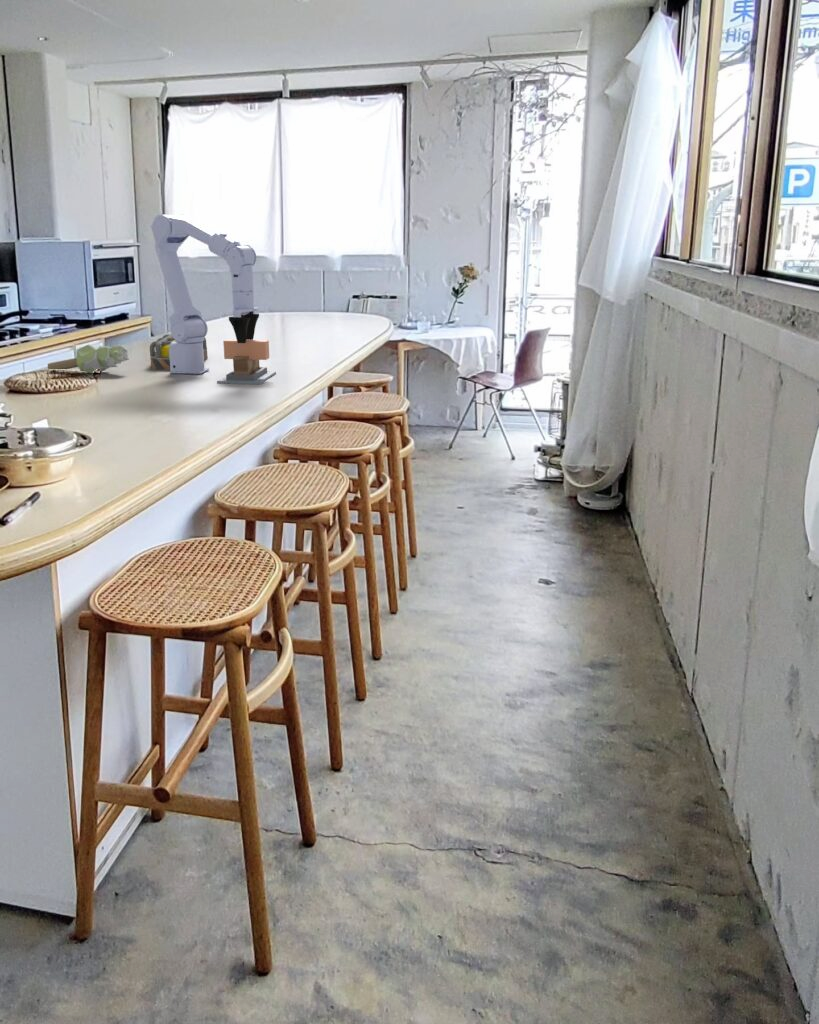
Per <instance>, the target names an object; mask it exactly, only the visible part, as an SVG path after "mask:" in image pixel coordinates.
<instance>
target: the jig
mask: <svg viewBox="0 0 819 1024" xmlns="http://www.w3.org/2000/svg"><path fill="white" fill-rule="evenodd" d="M259 367H260V369H259V370H258V371H256V372H254V373H253V374H251V375H237V374H234V370H232V371H230V372H229V373H227V374H226V375H224V376H223V377H221V378H220V379H218V380H216V383H217V384H232V385H233V384H234V385H236V384H239V385H240V384H241V385H261V384H263V383H264V382H266V381H267V380H269V379H270V378H272V377H273V376H274V374H275V375H276V374H277V372H276V371H269V370H268V367H267V366H259ZM271 376H272V377H271ZM268 378H269V379H268ZM265 380H266V381H265Z"/></svg>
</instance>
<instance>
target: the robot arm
mask: <svg viewBox="0 0 819 1024" xmlns="http://www.w3.org/2000/svg"><path fill="white" fill-rule="evenodd" d="M150 228H151V232H152V235H153V238H154V248H155V249H154V250H155V252H156V256H157V259H158V262H159V266H160V269H161V272H162V275H163V278H164V282H165V286H166V289H167V292H168V295H169V299H170V303H171V306H172V308H173V311H172V313H171V315H170V316H169V318H168V319H169V323H170V334H172V336H173V338H174V339H175V340H176V342H171V343H170V346H169V358H170V370H169V373H170V374H186V375H187V374H190V375H192V374H193V375H201V374H204V373H206V372H208V371H209V370H210V368H209V367H207V368H206V367H205V362H204V353H203V341H204V337H205V338H206V336H207V334H208V324H207V322H206V320H205V319H204V318H203V316H202V312H201V311H200V310H199V309H198V308H196V307H195V306H194V305H193V302H192V299H191V295H190V292H189V289H188V285H187V282H186V279H185V276H184V273H183V270H182V269H183V268H182V266H181V261H180V259H179V257H178V256H179V255H178V253H177V252H178V250H179V248H180V247H181V246H182V245H183V244H184V243H185V241H186V240H187V239H188V238H189V237H191V238H192V239H195V240H197V241H198V242H201V243H203V244H205V245H207V246H208V250H209V251H210V252H211V254H214V255H216V256H218V257H220V259H223V260H225V261H226V264H227V265H228V266H229V272H230V274H231V290H232V306H233V307H232V316H229V317H228V321H229V322H230V324H231V326H232V329H233V331H234V335H235V340H237V342H238V343H246V340H254V336H255V330H256V325H257V322H258V319H259V317H260V313H255V312H257V311H259V307H255V298H254V297H255V295H254V294H255V293H254V276H253V274H254V273H253V267H254V266H255V264H256V261H257V254H256V251H255V250H254V248H253V247H251V245H249V244H245V245H244V244H243V245H241V243H240V241H238V240H233V239H232V238H230V237H228V234H227V233H226V232H215V233H213V232H211V231H209V229H206V228H205V227H204V226H202V225H201V224H199V223H197V222H196V221H194V219H193V218H192V217H189V216H188V215H185V214H178V215H177V214H175V215H174V214H163V213H162V214H161V213H160V214H159V213H158V214H157V215H155V217H154V219H153V221H152V224H151V226H150Z"/></svg>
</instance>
